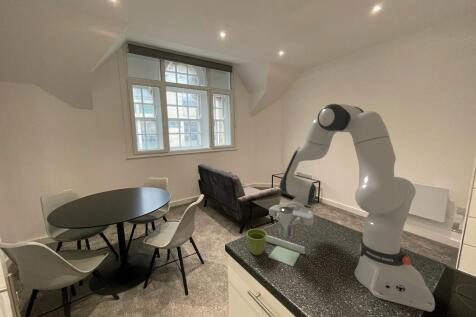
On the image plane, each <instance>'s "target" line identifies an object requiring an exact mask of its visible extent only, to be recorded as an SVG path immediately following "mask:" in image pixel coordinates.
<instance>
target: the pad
mask: <svg viewBox="0 0 476 317" xmlns="http://www.w3.org/2000/svg"><path fill="white" fill-rule="evenodd" d="M300 254H301V253H299V252H296V251H294V250H291V249H288V248H285V247H282V246H279V245H276V246H275V248H274V249H273V250H272V251H271V253H270V254H269V255H268V258H269V259H271V260H274V261H277V262H280V263H282V264H285V265H288V266H289V267H294V265H295V264H296V262H297V260H298V258H299V256H300Z"/></svg>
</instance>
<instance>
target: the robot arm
mask: <svg viewBox="0 0 476 317" xmlns="http://www.w3.org/2000/svg"><path fill="white" fill-rule="evenodd" d="M338 132H339V133H345V132H346V133H349V134H350V136H351V138H352V141H353V146H354V149H355V153H356V158H357V161H358V169H359V170H358V172H359V174H358V186H357V189H356V190H355V195H354V199H355V202H356V204H357V206H358V207H359V208H360V209H361V210H362V211H364V212H365V213H367V216H366V217H365V219H364V222H363V232H362V233H363V234H362V239H361V240H360V246H359V255H360V256H359V260H358V262H357V266H356V268H355V270H354V277H355V278H356V280H358V282H359V283H360V284H361V285H362V286H364V287H365V288H366V289H367V290H369V292H370V293H371V294H372V295H373V296H374V297H376V298H378V299H382V300H385V301H387V302H393V303H396V304H400V305H404V306H407V307H410V308H415V309H417V310H418V309H419V310H422V311H426V312H430V313H431V312H433V311H434V310H435V307H436V302H435V297H434V295H433V294H432V291H431V290H430V288H429V287H427V285H426V283H425V280H424V278H423V276H422V274H421V272H420V271H418V270H417V269H416V268H415V267H414V266H413V265H411V259H410V258H409V257H408V255H407V254H408V253H406V251H405V250H404V248H401V244H402V238H403V237H402V236H403V231H404V228H405V223H406V221H407V218H408V215H409V212H410V209H411V205H412V203H413V200H414V198H415V196H416V187H415V185H414V184H413V183H412V182H411V181H410V180H408V179H407V178H403V177H400V176H395V163H396V161H397V160H396V154H395V150H394V147H393V143H392V140H391V137H390V133H389V132H388V128H387V126H386V124H385V122H384V120H383V118H382V116H381V115H380V114H379V113H378V112H377V111H364V109H362V108H360V107H358V106H353V105H349V104H344V103H340V104H339V103H338V104H337V103H330V104H327V105H324V106H322V108H321V109H320V110H319V112H318V114H317V117H316V118H315V119H314V120H313V121H312V122H311V124H310V126H309V129H308V131H307V135H306V137H305V141H304V143H303V144H302V146H300V147H297V148H296V150H295V151H294V152H293V155H292V156H291V158H290V161H289V163H288V165H287V168H286V170H285V172H284V175H283V176H282V178H281V180H280V182H279V189H280V190H281V192H282V193H284V194H287V195H291V196H293V197H294V198H292V200H290V201H289V202H288V203H287V204H286V206H285V205H281V204H274V205H273V206H270V207H269V209H268V214H269V216H271V217H274V218H275V220H276V221H279V215H280V210H279V208H280V207H290V208H292V209H293V219H292V223H291V224H292V226H293V225H294V226H295V225H297V224H302V225H306V226H313V225H314V220H315V219H314V218H315V216H314V215H315V214H314V211H315V210H314V207H313V206H311V205H312V204H313V203H314V201H315V199H316V196H317V188H316V185H315V183H313V182H312V181H307V180H306V179H305V180H304V179H301V178H299V177H296V176H295V175H294V174H295V173H296V170H297V169H298V166H299V163H300V162H305V161H316V160H317V161H318V160H320V159H323V158H324V157H326V156H327V154H328V152H329V149H330V147H331V144H332V140H333V138H334V135H336V134H337V133H338Z"/></svg>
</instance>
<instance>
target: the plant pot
mask: <svg viewBox="0 0 476 317" xmlns="http://www.w3.org/2000/svg"><path fill="white" fill-rule="evenodd" d="M267 235H268V233H267V232H266V231H265V230H263V229H260V228H251V229H249V230H247V232H246V237H247V239H248V247H249V252H250V253H251V254H252V255H255V256H260V255H262V254H263V253H264V247H265V243H266V241H265V239H266V237H267Z"/></svg>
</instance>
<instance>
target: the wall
mask: <svg viewBox="0 0 476 317" xmlns="http://www.w3.org/2000/svg"><path fill="white" fill-rule="evenodd" d="M265 242H268V243H270V244H273V245H276V246H280V247H283V248H286V249H289V250H292V251H295V252H298V253H300V254H302V255H305V252H306V250H305V246H303V245H300V244H296V243H293V242H290V241H287V240H284V239H280V238H278V237H275V236H271V235H268V234H267V237H266V239H265Z"/></svg>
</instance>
